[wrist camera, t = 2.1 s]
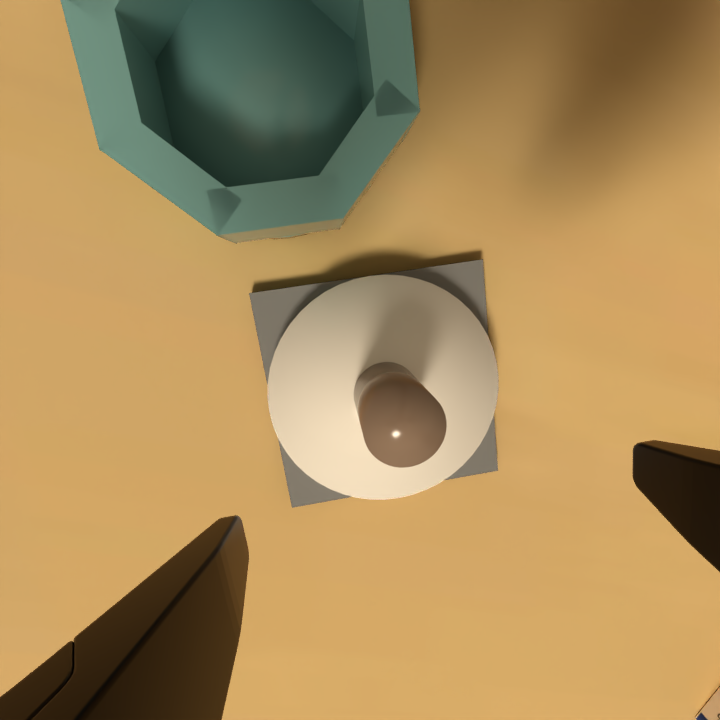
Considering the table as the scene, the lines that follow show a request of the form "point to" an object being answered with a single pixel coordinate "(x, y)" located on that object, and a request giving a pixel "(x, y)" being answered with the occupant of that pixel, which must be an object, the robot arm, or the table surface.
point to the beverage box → (711, 708)
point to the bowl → (249, 103)
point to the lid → (382, 387)
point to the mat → (286, 303)
